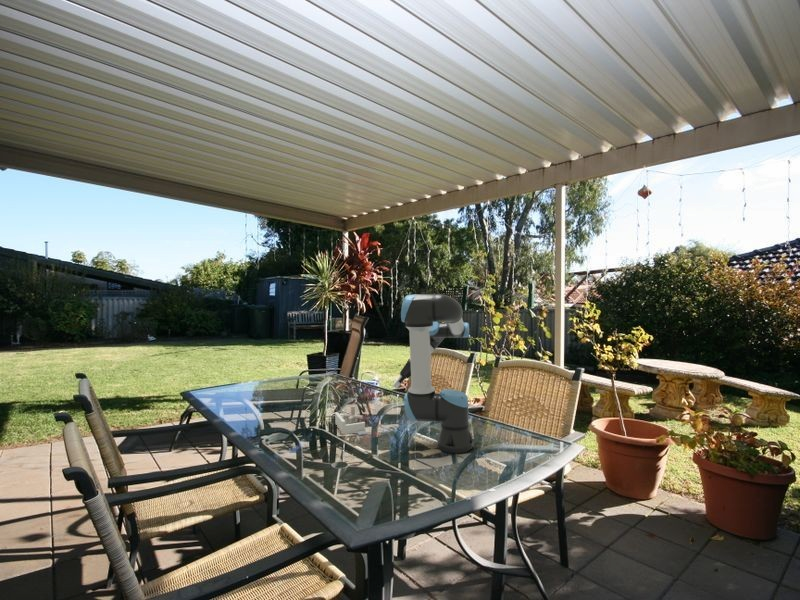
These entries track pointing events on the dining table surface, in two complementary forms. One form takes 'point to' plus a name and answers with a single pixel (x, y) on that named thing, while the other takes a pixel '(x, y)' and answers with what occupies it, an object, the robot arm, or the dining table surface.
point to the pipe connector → (353, 415)
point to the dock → (349, 425)
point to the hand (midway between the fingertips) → (394, 386)
